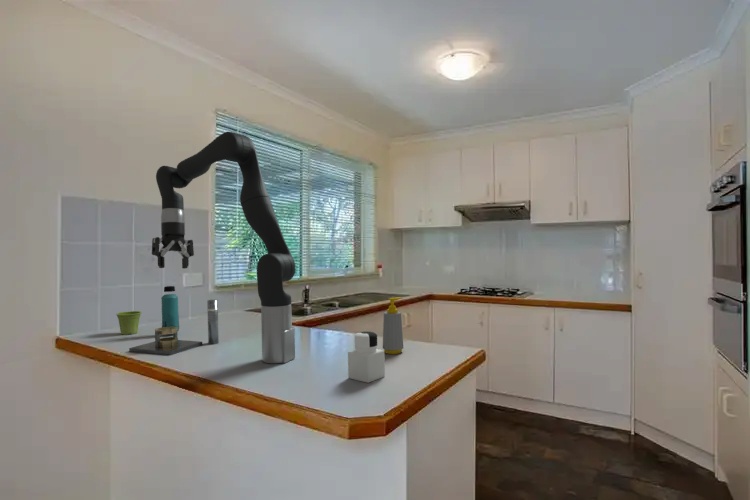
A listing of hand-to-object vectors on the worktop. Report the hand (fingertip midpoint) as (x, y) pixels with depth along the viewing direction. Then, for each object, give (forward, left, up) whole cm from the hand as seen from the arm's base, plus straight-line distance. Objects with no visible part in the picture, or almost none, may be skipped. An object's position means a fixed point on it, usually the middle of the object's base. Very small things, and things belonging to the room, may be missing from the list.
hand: (173, 268), depth 151 cm
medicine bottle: (-76, +12, -29) cm, 82 cm away
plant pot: (+41, -17, -29) cm, 53 cm away
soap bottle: (-75, -16, -29) cm, 82 cm away
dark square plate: (+4, 0, -28) cm, 29 cm away
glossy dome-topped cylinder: (-7, -11, -28) cm, 31 cm away
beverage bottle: (+21, -19, -29) cm, 40 cm away
